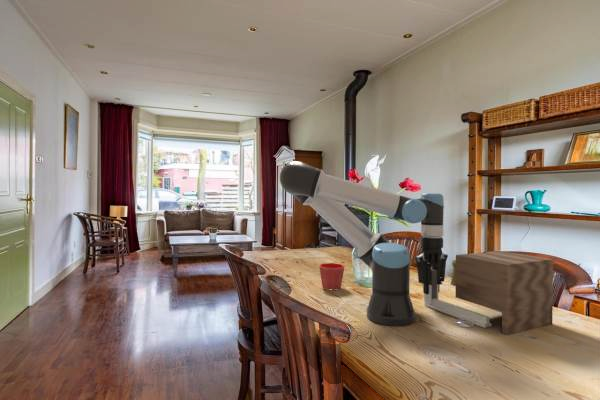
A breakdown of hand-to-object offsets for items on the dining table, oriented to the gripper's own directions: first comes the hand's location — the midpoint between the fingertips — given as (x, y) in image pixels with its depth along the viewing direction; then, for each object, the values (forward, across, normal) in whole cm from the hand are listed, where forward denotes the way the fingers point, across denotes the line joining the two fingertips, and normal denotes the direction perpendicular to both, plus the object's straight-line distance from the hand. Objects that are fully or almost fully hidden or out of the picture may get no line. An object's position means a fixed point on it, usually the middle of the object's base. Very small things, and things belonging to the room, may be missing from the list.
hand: (431, 302), depth 127 cm
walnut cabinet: (+1, -10, +20) cm, 22 cm away
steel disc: (+2, +4, +18) cm, 18 cm away
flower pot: (+2, +20, -36) cm, 42 cm away
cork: (+2, -34, -18) cm, 39 cm away
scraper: (+1, 0, +10) cm, 10 cm away
